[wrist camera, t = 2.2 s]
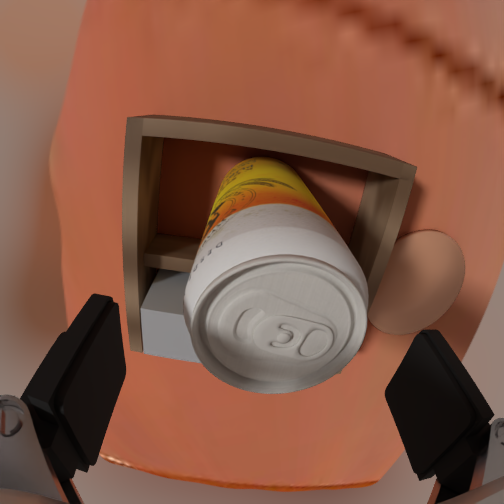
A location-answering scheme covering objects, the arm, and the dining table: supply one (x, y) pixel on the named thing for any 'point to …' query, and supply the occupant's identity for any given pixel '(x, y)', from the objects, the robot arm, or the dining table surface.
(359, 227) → the rack
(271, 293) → the beer can
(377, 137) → the dining table surface
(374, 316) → the coaster
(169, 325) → the offcut
